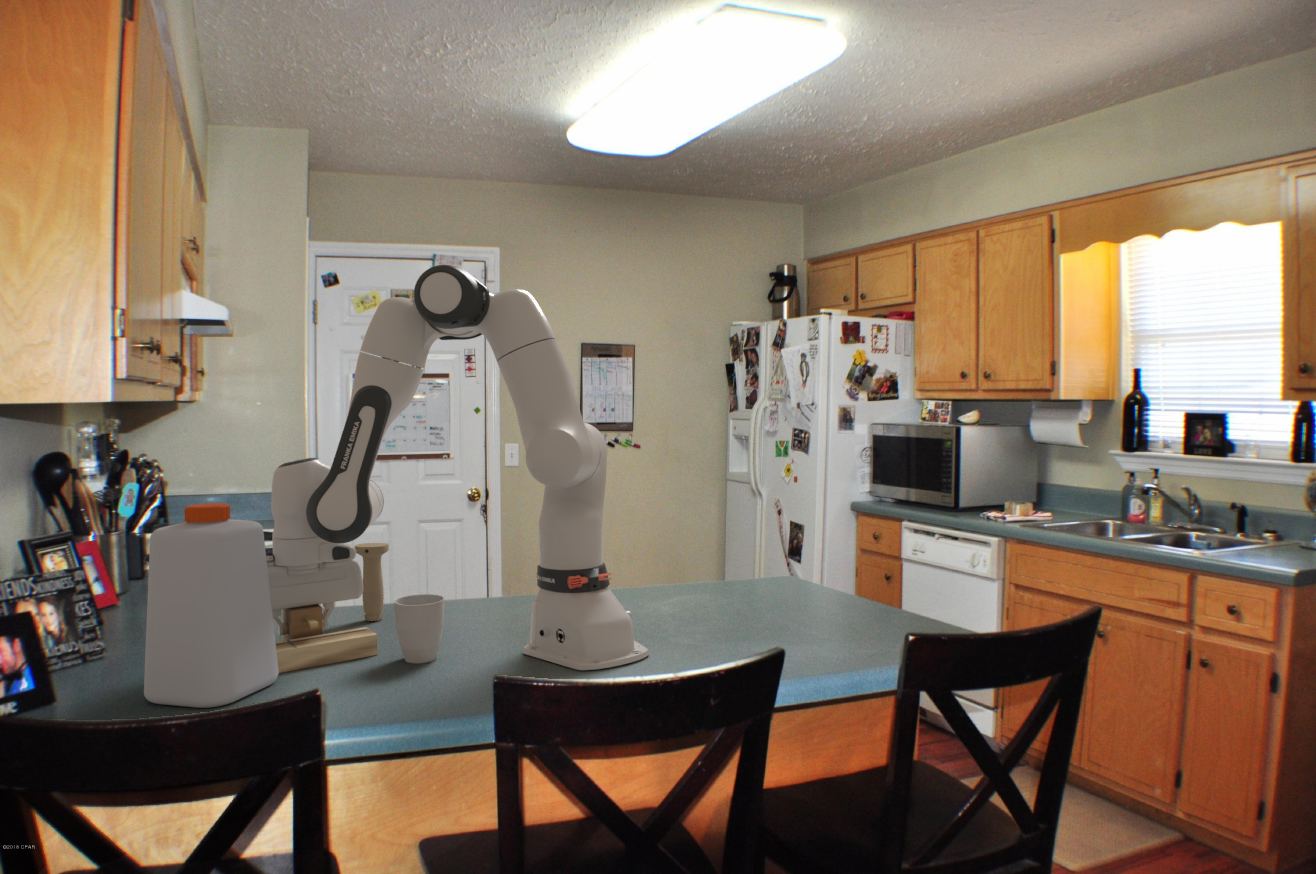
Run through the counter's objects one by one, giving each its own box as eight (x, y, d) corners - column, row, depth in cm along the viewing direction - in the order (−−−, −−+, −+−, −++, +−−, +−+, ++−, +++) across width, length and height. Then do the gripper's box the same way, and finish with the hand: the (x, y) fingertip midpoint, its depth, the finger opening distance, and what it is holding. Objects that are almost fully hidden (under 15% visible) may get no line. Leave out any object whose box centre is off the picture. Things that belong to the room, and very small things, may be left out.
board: (377, 654, 145) (377, 633, 145) (277, 673, 136) (276, 651, 135) (366, 646, 150) (366, 626, 150) (268, 664, 140) (268, 642, 140)
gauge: (331, 654, 143) (330, 612, 143) (299, 659, 140) (298, 617, 140) (314, 639, 152) (312, 601, 152) (284, 644, 149) (282, 605, 149)
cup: (427, 649, 148) (425, 592, 148) (456, 657, 143) (454, 598, 142) (385, 660, 142) (384, 600, 141) (414, 669, 137) (413, 607, 136)
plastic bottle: (291, 678, 133) (285, 500, 132) (218, 713, 118) (210, 512, 117) (210, 672, 137) (203, 498, 136) (129, 704, 122) (122, 510, 121)
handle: (384, 623, 166) (382, 547, 165) (352, 623, 166) (350, 547, 166) (394, 617, 171) (392, 542, 170) (363, 617, 171) (361, 542, 171)
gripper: (238, 561, 139) (240, 645, 139) (365, 548, 151) (367, 625, 151) (231, 556, 144) (233, 637, 144) (354, 543, 156) (356, 618, 156)
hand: (303, 631), depth 148 cm, fingers closed on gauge, 5 cm apart
